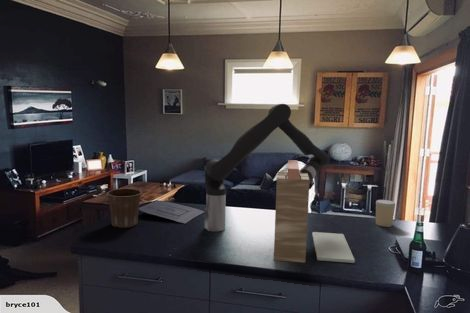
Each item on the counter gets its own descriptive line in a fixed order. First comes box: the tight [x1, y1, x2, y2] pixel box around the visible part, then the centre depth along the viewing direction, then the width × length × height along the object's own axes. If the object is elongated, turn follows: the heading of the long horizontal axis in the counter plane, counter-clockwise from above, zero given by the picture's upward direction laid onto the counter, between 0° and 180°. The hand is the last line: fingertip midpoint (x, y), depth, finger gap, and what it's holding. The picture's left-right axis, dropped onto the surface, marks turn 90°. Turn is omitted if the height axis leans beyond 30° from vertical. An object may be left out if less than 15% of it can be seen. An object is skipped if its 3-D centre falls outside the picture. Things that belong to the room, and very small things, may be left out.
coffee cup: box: [375, 199, 396, 228], centre depth 188 cm, size 9×9×12 cm
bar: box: [287, 159, 300, 180], centre depth 146 cm, size 24×4×4 cm, turn 172°
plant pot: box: [106, 188, 143, 229], centre depth 178 cm, size 16×16×16 cm
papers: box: [139, 200, 205, 224], centre depth 198 cm, size 24×30×4 cm
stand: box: [273, 169, 310, 264], centre depth 145 cm, size 14×12×33 cm
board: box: [311, 231, 356, 264], centre depth 155 cm, size 30×14×1 cm, turn 172°
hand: (291, 192), depth 162 cm, fingers open, 8 cm apart
